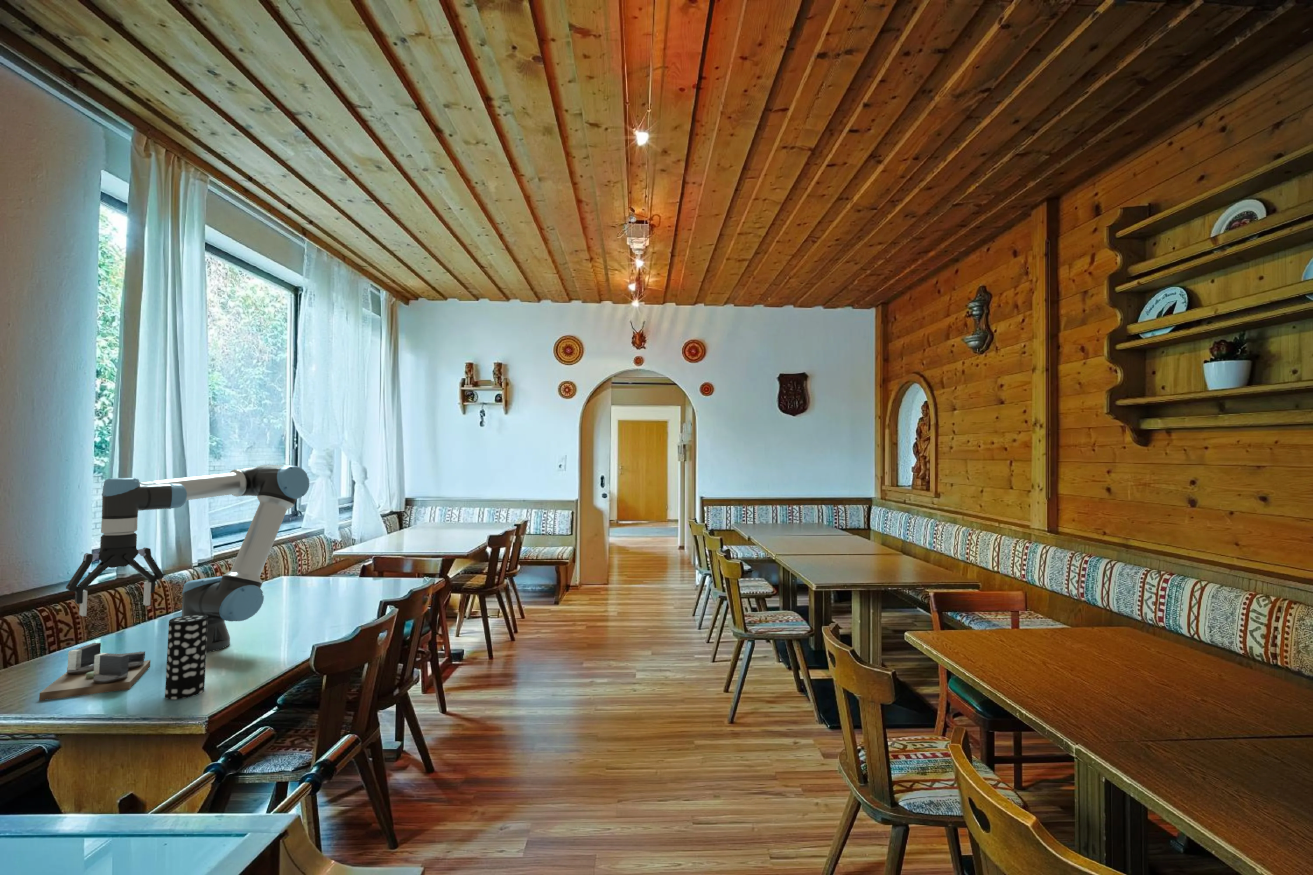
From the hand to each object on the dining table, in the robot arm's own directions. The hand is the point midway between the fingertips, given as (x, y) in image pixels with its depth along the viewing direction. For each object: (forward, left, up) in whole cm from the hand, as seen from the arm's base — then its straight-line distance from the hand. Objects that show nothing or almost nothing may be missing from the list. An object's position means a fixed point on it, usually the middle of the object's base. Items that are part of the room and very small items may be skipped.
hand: (115, 610), depth 164 cm
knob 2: (0, 0, -19) cm, 19 cm away
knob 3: (-1, -11, -19) cm, 22 cm away
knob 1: (+9, -12, -19) cm, 24 cm away
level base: (+4, -6, -21) cm, 22 cm away
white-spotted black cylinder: (-19, +14, -21) cm, 32 cm away
